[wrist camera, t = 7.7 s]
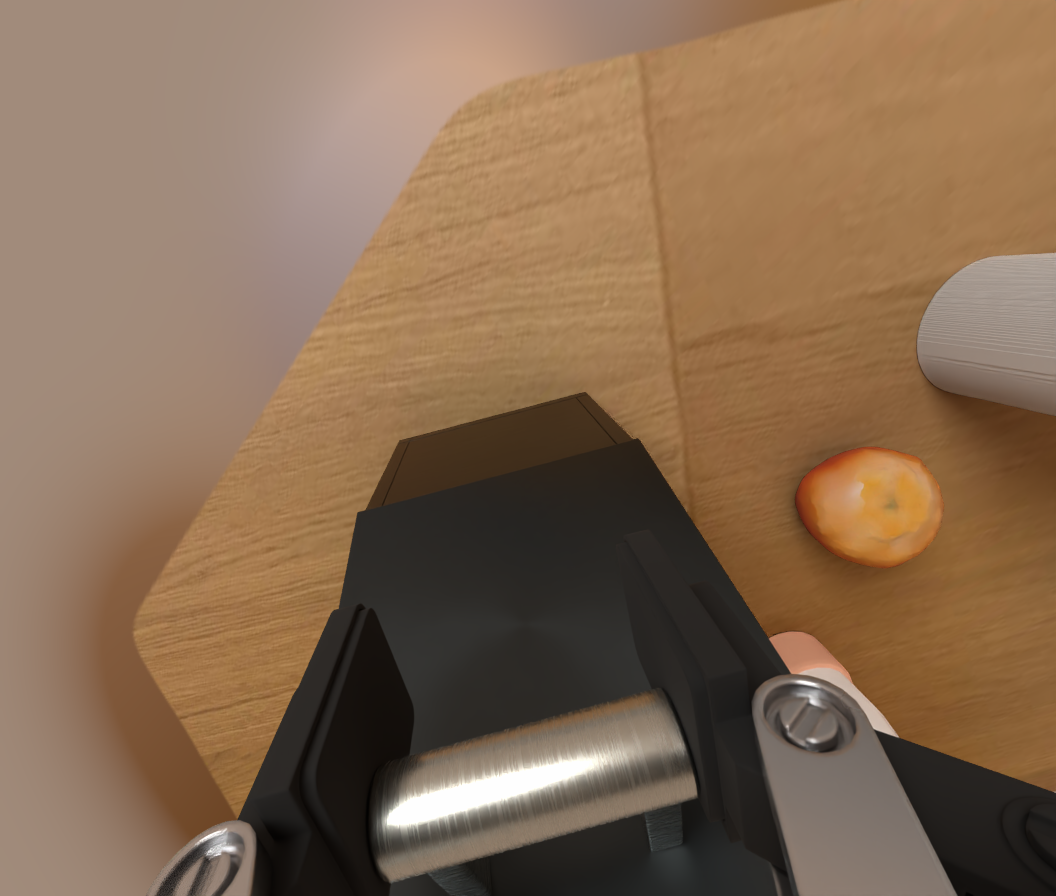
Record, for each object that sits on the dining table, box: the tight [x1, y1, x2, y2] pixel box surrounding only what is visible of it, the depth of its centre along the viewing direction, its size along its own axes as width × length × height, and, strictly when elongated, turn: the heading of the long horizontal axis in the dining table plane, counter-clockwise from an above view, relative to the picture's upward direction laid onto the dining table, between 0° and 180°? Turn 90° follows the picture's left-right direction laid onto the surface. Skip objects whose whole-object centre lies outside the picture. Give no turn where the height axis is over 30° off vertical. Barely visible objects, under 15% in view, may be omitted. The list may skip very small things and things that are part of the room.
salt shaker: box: [769, 631, 899, 738], centre depth 32 cm, size 7×7×19 cm
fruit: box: [795, 447, 944, 568], centre depth 34 cm, size 8×8×8 cm
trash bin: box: [366, 392, 633, 510], centre depth 29 cm, size 15×13×11 cm
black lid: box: [339, 438, 791, 896], centre depth 14 cm, size 15×13×5 cm
